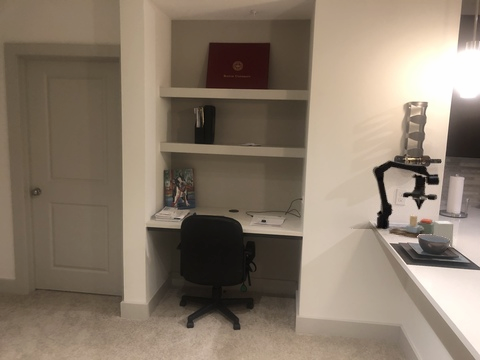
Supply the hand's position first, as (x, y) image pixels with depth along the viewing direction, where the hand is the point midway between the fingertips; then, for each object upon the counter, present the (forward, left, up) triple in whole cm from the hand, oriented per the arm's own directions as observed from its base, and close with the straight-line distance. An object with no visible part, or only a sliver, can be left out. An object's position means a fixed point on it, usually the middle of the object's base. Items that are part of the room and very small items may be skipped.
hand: (419, 209), depth 232 cm
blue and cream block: (+3, -20, -9) cm, 22 cm away
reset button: (+7, -8, -11) cm, 15 cm away
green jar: (+7, -8, -12) cm, 16 cm away
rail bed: (0, -20, -12) cm, 23 cm away
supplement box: (+22, -30, -12) cm, 39 cm away
